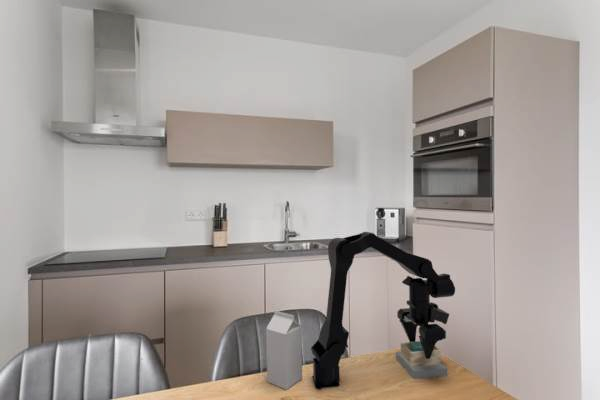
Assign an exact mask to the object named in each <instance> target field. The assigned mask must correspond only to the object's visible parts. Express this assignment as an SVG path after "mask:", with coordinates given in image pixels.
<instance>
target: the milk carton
mask: <svg viewBox="0 0 600 400" xmlns="http://www.w3.org/2000/svg"><path fill="white" fill-rule="evenodd" d="M265 329H266V330H265V331H266V335H265V336H266V382H268V383H269V384H272V385H274V386H276V387H279V388H281V389H284V390H289V388H291V387H293V386H294V385H295V384H297V383H298V382H299V381H301V380H302V379H303V341H302V340H303V337H302V336H303V333H302V330H303V329H302V325H301V324H300V323H298V322H297V321H296V319H295V316H294V314H290V313H286V312H282V311H279V310H278V311H276V310H273V315H272V317H271V320H270V321H269V323H268V324H267V327H266V328H265Z"/></svg>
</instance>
